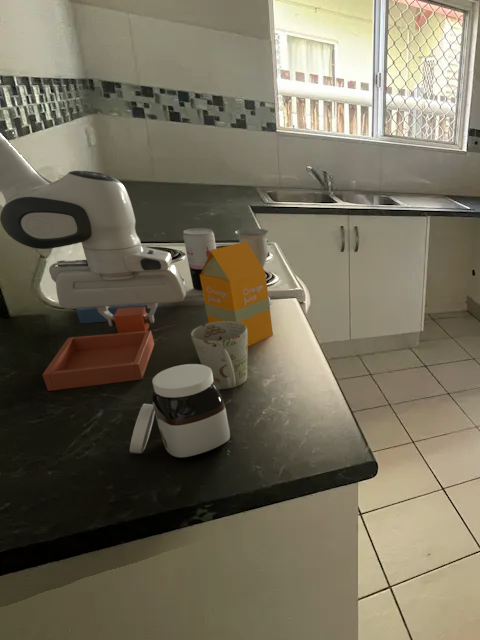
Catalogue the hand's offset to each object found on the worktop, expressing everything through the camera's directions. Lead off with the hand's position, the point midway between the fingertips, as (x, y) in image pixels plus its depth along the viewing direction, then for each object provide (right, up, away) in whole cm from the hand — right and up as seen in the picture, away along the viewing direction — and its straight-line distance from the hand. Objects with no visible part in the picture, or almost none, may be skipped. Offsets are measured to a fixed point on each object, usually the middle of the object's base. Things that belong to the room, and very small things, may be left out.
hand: (133, 323), depth 98 cm
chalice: (+16, +6, +20) cm, 26 cm away
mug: (+29, -12, -14) cm, 34 cm away
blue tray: (-10, +4, +10) cm, 15 cm away
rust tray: (+5, -8, -12) cm, 15 cm away
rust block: (0, -2, +1) cm, 2 cm away
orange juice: (+22, -3, +3) cm, 22 cm away
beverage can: (-1, +10, +26) cm, 28 cm away
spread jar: (+31, -19, -30) cm, 47 cm away
